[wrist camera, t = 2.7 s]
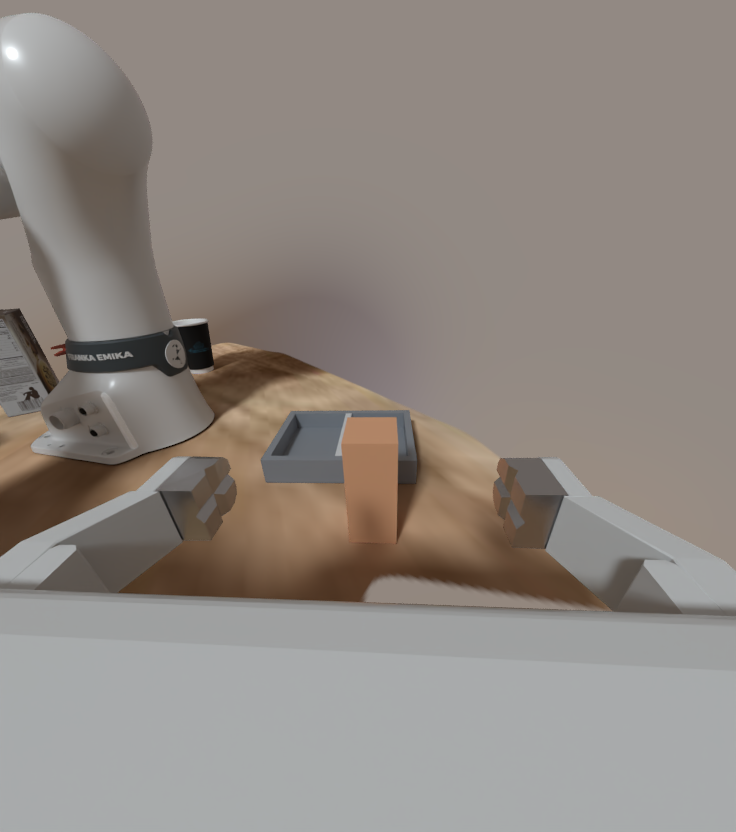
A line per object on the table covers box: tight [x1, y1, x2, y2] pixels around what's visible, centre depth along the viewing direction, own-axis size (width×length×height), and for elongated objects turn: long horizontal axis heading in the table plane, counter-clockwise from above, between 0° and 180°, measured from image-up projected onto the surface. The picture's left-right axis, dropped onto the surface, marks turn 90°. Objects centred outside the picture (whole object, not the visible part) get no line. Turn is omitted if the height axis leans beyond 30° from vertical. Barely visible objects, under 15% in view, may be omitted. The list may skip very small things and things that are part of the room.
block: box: [341, 417, 398, 544], centre depth 25 cm, size 4×4×10 cm
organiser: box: [261, 410, 417, 484], centre depth 37 cm, size 16×12×3 cm
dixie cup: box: [173, 319, 214, 374], centre depth 67 cm, size 8×8×11 cm
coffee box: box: [0, 309, 59, 417], centre depth 51 cm, size 9×6×16 cm
